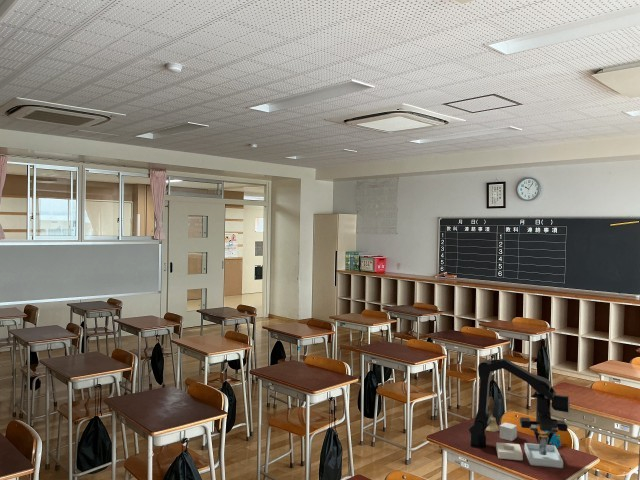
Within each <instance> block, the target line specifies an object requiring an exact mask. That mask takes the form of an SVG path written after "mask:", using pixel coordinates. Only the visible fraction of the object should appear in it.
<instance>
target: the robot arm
mask: <svg viewBox="0 0 640 480" xmlns="http://www.w3.org/2000/svg"><path fill="white" fill-rule="evenodd" d="M502 369H503V370H505V371H506V372H509V373H510V374H512V375H514V376H515V377H517V378H519V379H520V380H522V381H524V382H526V383H527V384H528V385H529V386H530V387H531V388H532V389H534V391H535V392H533V393H532V394H531V397H532V398H535V399H536V401H535V405H536V406H535V408H536V409H535V413H536V414H535V420H531V419H530V417H524V416H523V417H520V418H519V425H520V428H522V429H530V430H531V431H533V433H534V436H535V440H536V442H537V443H536V444H539V436H538V432H539V430H540V431H542V432H543V431H548V434H549V437H547V445H550V444H551V443H550V440H551V438H552V436H553V434H554V433H555V432H556V433H558V432H559V431H560V432H568V431H569V430H568V424H567V423H566V421H565V420H561V419H554V418H552V416H551V408H552V410H554V411H556V412H557V411H558V412H563V413H570V397H569V395H561V394H557V392H556V391H555V389H554V388H553V387H552V382H551V381H550V380H549V379H548V378H546V377H544V376H541V375H537V374H533V373H532V372H530V371H528V370H526V369H524V368H522V367H521V366H520V365H517V364H516V363H514V362H512V361H510V360H509V359H508V358H506V357H503V358H499V359H492V360H491V359H484V360H483V361H481V362H480V363H479V364H478V365H477V372H478V377H479V393H478V405H477V406H478V407H477V413H476V415H475V418H474V422H473V423H472V425H471V426H470V427H469V428H468V431H469V433H470V435H469V436H470V439H469V444H470V447H473V448H474V447H475V448H484V449H485V448H486V446H487V435H486V433H485V431H486V428H487V427H488V426H489V425H490V423H491V416H492V414H489V406H488V401H489V398H490V396H489V395H490V382H491V378H492V375H493V373H494V372H495V371H499V370H502ZM538 427H539V430H538ZM558 430H559V431H558ZM549 443H550V444H549Z"/></svg>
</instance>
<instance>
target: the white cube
mask: <svg viewBox="0 0 640 480" xmlns="http://www.w3.org/2000/svg"><path fill="white" fill-rule="evenodd" d="M499 428H500V430H499V438H500V439H503V440H507V441H510V442H513V441H514V440H515V439H516V438H517V437H518V425H517V424H513V423H510V422H509V423H508V422H502V423H501V424H500V425H499Z"/></svg>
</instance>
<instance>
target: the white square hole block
mask: <svg viewBox="0 0 640 480" xmlns="http://www.w3.org/2000/svg"><path fill="white" fill-rule="evenodd" d="M495 450H496V454H497V457H498V459H503V460H511V461H512V460H514V461H523V456H524V453H523V451H522V448H521V445H520V444H519V443H508V442H507V443H506V442H497V441H496V443H495Z"/></svg>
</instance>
